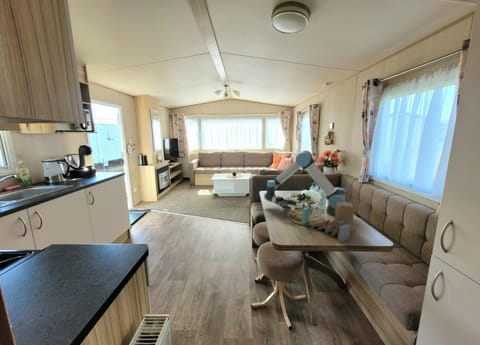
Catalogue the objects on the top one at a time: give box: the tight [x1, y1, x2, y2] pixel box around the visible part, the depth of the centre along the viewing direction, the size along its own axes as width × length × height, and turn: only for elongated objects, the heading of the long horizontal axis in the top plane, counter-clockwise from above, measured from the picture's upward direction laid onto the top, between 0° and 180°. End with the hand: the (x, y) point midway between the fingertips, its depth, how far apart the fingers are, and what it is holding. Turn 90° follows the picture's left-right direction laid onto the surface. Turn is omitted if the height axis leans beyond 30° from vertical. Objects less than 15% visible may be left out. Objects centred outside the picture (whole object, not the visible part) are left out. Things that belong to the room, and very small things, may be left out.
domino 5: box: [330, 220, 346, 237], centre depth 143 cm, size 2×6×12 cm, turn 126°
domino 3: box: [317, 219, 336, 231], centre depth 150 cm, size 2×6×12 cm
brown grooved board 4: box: [324, 220, 340, 235], centre depth 146 cm, size 2×6×12 cm
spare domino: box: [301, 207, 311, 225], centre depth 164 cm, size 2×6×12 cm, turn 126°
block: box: [333, 201, 355, 234], centre depth 152 cm, size 10×10×20 cm
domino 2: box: [311, 219, 331, 228], centre depth 154 cm, size 2×6×12 cm
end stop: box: [337, 223, 351, 242], centre depth 140 cm, size 9×3×10 cm, turn 126°
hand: (298, 207), depth 169 cm, fingers open, 9 cm apart
